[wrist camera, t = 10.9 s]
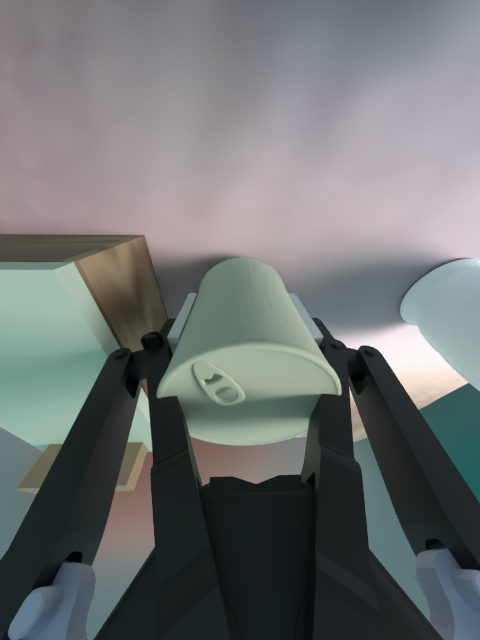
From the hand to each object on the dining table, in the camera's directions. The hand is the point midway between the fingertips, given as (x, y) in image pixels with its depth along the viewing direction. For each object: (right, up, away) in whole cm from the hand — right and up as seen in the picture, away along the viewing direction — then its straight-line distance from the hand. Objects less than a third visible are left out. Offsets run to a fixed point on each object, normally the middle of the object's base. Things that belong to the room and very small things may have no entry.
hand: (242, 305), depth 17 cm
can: (0, +1, +1) cm, 1 cm away
